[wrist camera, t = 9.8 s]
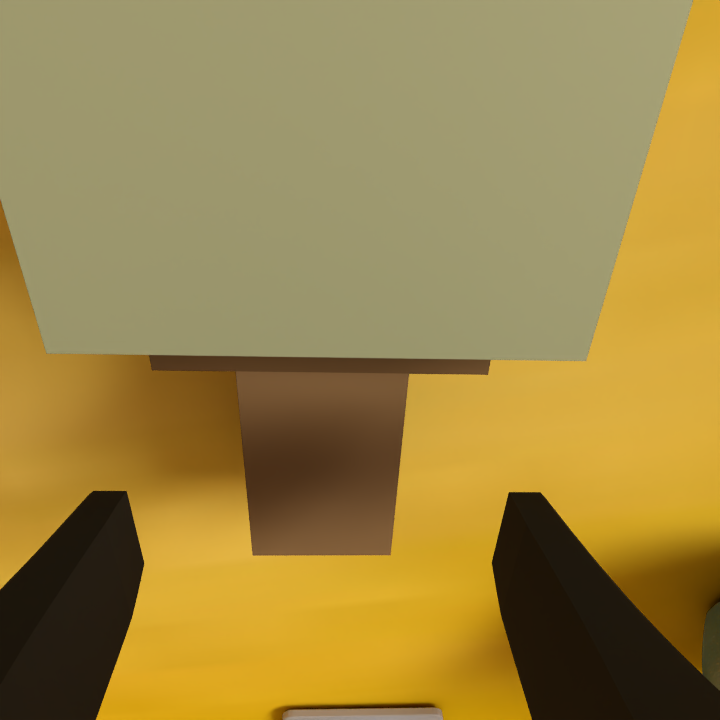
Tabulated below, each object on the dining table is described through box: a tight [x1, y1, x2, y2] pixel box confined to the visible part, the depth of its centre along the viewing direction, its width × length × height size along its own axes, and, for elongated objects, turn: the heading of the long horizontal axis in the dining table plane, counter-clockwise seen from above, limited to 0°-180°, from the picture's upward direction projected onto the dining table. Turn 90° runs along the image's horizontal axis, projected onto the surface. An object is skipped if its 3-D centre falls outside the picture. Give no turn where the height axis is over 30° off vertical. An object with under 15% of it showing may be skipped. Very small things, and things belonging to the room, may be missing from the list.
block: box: [0, 0, 693, 361], centre depth 11 cm, size 8×10×6 cm
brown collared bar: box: [149, 355, 491, 555], centre depth 15 cm, size 13×7×5 cm, turn 178°
